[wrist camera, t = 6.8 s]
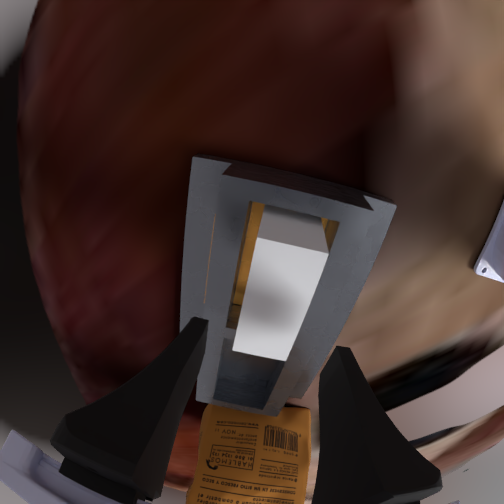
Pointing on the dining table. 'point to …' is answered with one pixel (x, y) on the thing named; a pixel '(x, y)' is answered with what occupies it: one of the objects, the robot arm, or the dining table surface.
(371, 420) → the robot arm
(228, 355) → the frame
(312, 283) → the white rectangular block
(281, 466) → the coffee package
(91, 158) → the dining table surface
